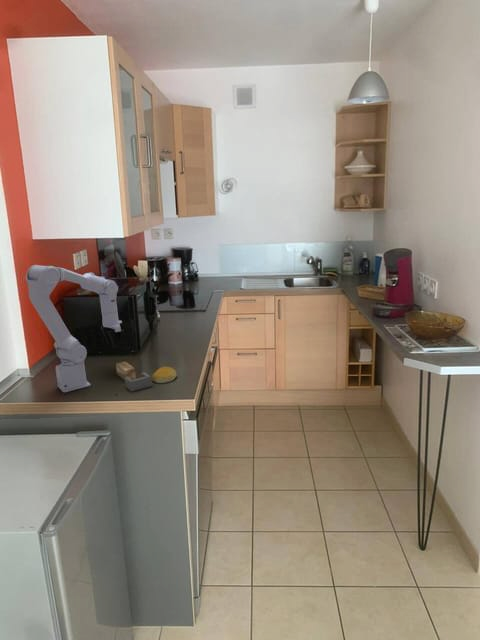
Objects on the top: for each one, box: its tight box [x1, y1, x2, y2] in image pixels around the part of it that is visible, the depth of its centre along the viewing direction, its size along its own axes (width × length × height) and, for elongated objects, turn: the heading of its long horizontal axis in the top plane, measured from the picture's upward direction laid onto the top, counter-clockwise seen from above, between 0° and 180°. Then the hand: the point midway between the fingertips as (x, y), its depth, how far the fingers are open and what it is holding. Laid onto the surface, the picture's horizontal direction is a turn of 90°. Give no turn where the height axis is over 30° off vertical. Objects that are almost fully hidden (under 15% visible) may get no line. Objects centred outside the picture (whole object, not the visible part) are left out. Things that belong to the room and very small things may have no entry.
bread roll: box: [151, 366, 178, 384], centre depth 168 cm, size 8×9×4 cm
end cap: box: [124, 371, 153, 392], centre depth 162 cm, size 7×6×4 cm
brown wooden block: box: [115, 360, 137, 381], centre depth 172 cm, size 4×10×4 cm, turn 34°
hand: (114, 346), depth 178 cm, fingers open, 6 cm apart
